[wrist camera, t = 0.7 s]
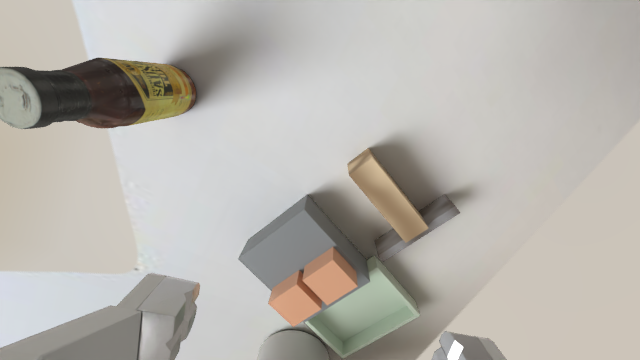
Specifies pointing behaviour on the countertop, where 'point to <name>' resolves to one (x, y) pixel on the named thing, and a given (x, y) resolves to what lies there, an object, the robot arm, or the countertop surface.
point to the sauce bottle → (94, 94)
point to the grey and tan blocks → (396, 206)
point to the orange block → (294, 299)
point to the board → (299, 247)
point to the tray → (365, 313)
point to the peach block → (330, 276)
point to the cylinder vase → (292, 347)
